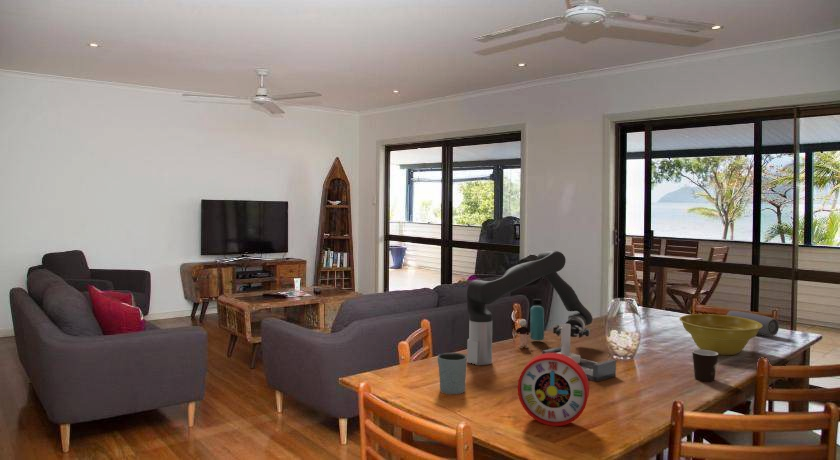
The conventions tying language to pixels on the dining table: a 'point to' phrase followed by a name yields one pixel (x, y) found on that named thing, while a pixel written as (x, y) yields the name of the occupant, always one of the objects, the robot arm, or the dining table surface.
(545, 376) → the toy clock
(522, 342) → the grandmother figurine
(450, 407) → the dining table surface
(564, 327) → the carriage
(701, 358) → the coffee mug
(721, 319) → the planter bowl
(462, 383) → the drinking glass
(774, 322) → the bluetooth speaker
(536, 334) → the beverage bottle
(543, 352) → the gray tray
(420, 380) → the dining table surface
